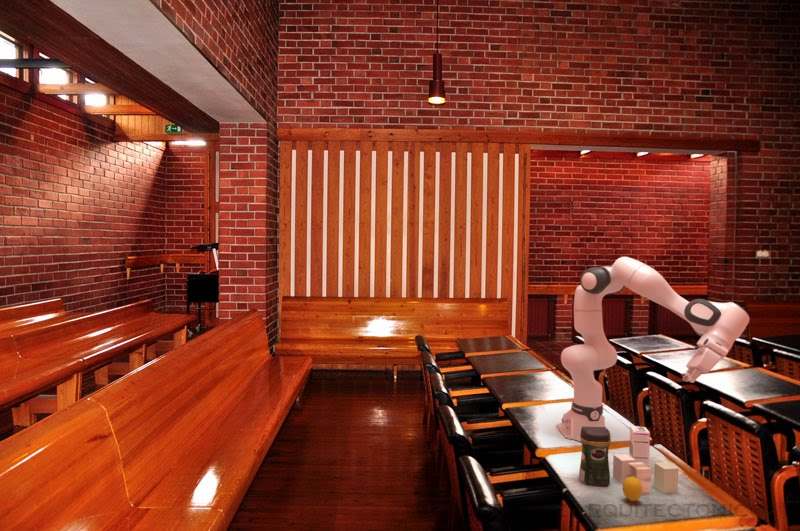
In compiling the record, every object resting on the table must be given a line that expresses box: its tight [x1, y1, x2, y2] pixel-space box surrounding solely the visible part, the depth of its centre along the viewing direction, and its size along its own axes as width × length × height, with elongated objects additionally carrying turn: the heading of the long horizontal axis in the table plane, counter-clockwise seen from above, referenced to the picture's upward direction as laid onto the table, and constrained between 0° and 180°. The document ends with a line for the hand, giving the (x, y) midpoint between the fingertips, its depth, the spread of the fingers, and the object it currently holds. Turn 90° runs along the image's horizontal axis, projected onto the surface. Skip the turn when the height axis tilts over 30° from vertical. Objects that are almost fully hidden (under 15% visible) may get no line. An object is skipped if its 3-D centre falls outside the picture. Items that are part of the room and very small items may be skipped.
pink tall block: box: [628, 462, 652, 494], centre depth 175 cm, size 5×5×8 cm
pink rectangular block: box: [612, 453, 636, 485], centre depth 182 cm, size 5×5×8 cm
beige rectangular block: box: [653, 461, 679, 494], centre depth 175 cm, size 5×5×8 cm
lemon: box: [622, 476, 643, 502], centre depth 167 cm, size 6×6×8 cm
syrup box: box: [628, 425, 651, 467], centre depth 191 cm, size 6×6×14 cm
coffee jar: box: [578, 426, 611, 486], centre depth 180 cm, size 10×8×19 cm
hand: (687, 381), depth 177 cm, fingers open, 8 cm apart
